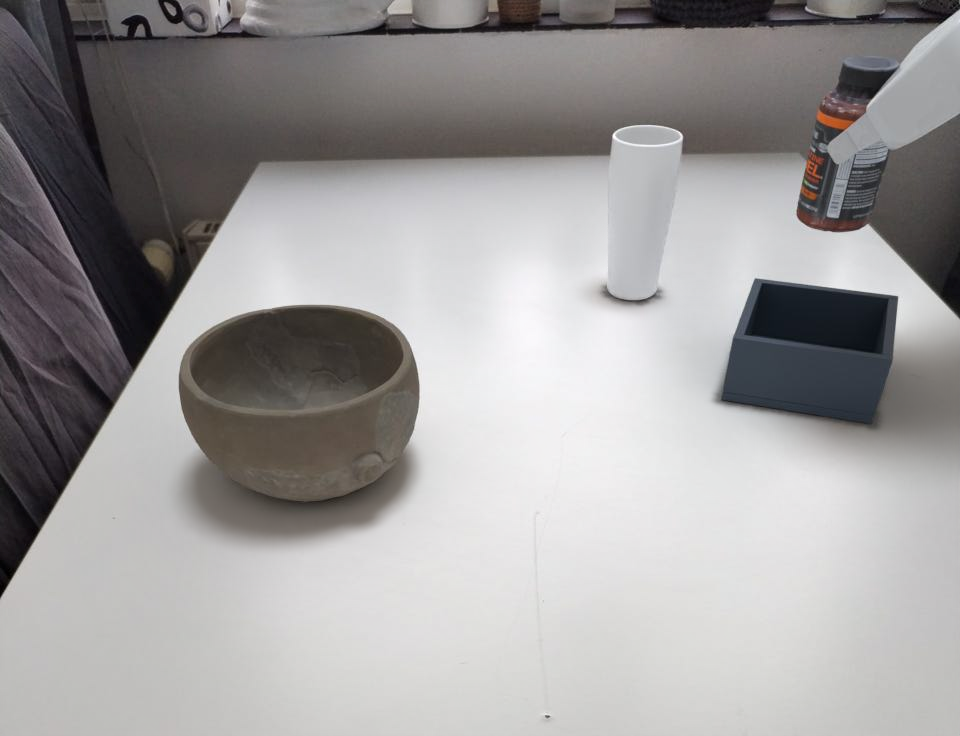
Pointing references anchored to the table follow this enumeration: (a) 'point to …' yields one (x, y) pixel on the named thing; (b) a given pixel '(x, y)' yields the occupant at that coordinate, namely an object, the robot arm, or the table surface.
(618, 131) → the drinking glass
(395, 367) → the bowl
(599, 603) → the table surface
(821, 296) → the bin
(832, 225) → the supplement bottle
